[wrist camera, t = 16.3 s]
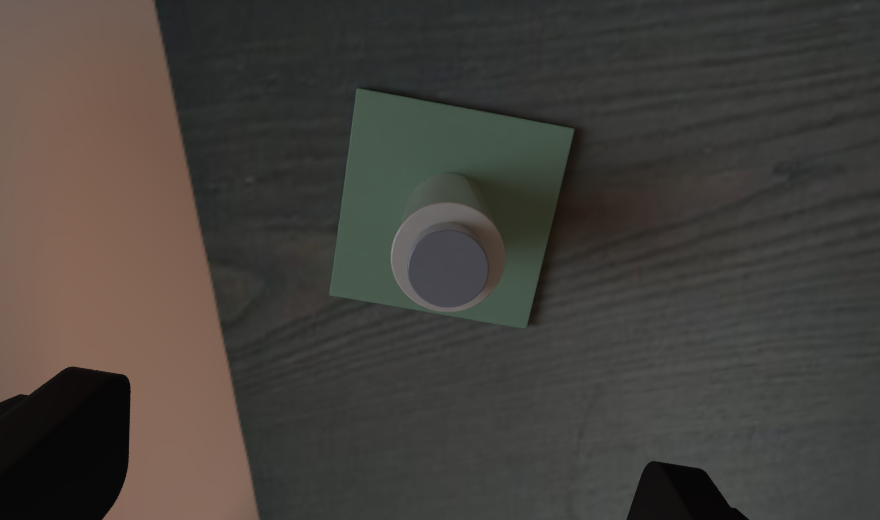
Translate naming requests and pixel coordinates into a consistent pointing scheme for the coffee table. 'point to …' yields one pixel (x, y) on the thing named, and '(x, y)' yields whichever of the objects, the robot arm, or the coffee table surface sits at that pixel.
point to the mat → (434, 152)
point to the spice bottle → (447, 245)
